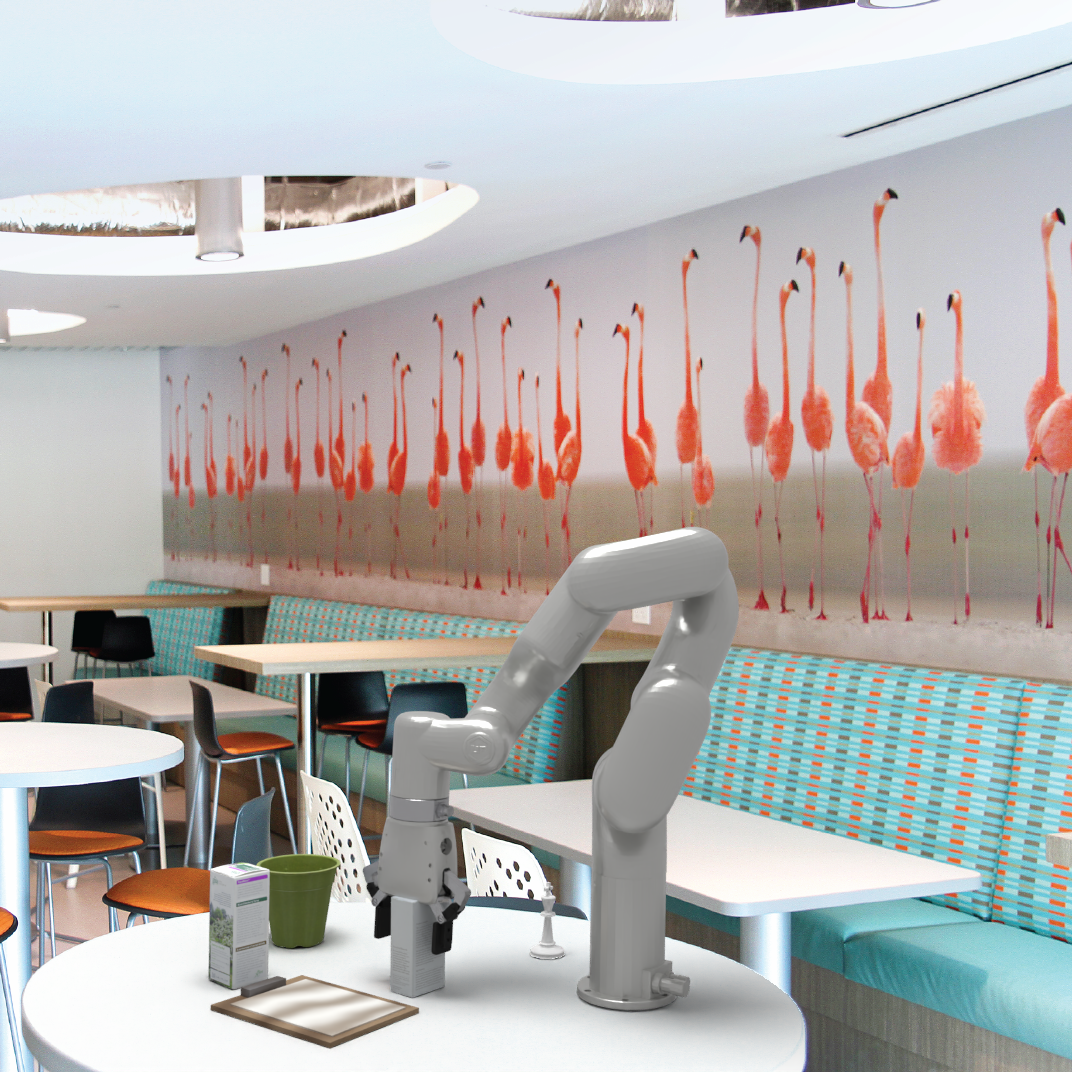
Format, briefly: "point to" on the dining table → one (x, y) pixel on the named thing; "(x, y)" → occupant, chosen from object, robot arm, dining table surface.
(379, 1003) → the clipboard
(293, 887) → the plant pot
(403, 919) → the skincare box
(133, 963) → the dining table surface
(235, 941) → the syrup box
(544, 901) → the chess piece
